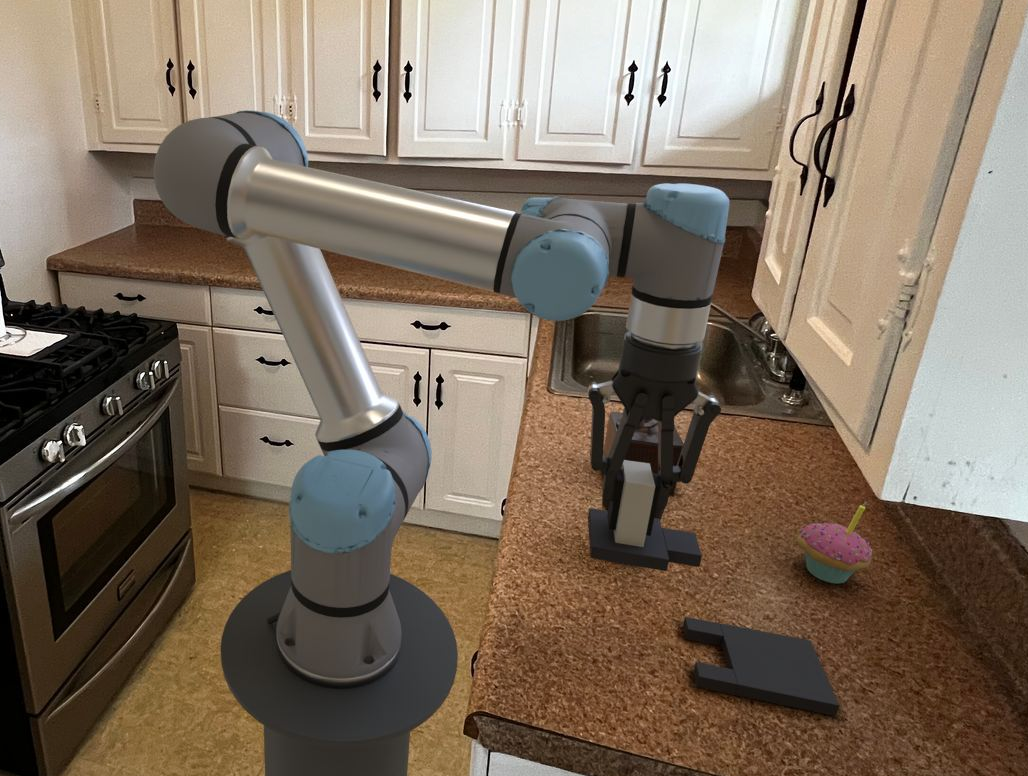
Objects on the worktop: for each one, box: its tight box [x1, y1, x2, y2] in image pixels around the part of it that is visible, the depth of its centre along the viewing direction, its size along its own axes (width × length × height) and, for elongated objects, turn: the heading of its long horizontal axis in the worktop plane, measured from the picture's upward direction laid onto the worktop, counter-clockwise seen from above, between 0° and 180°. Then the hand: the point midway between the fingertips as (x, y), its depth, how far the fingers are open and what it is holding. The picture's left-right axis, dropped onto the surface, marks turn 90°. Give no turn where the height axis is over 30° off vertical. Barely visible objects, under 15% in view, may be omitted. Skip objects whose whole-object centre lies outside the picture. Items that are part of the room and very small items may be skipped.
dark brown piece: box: [603, 411, 684, 496], centre depth 121 cm, size 16×11×18 cm
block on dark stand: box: [587, 460, 703, 572], centre depth 84 cm, size 12×8×10 cm
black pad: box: [682, 616, 840, 717], centre depth 87 cm, size 14×10×2 cm
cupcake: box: [796, 501, 874, 584], centre depth 101 cm, size 9×8×12 cm
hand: (628, 525), depth 86 cm, fingers closed on block on dark stand, 3 cm apart
